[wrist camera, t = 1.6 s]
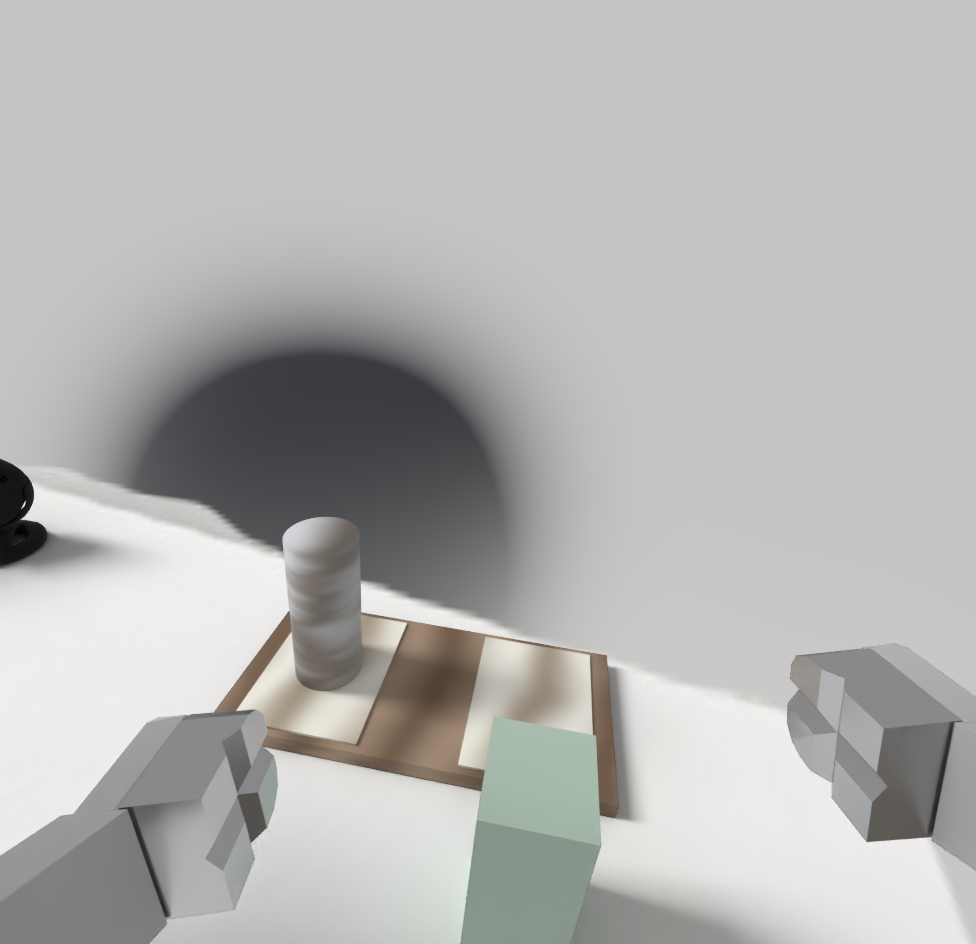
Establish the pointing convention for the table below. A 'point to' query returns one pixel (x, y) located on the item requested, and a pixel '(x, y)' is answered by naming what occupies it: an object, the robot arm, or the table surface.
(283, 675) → the board
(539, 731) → the sage green tall pillar
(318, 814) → the table surface
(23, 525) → the webcam
